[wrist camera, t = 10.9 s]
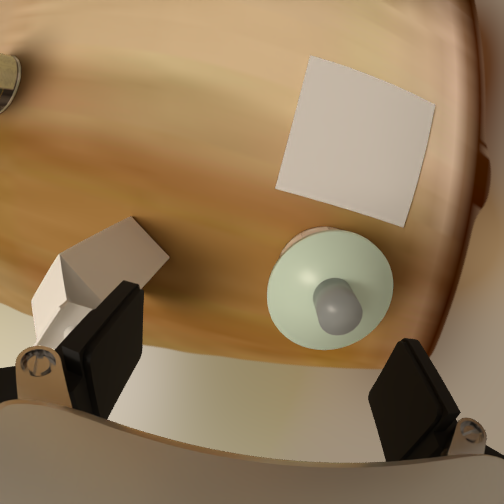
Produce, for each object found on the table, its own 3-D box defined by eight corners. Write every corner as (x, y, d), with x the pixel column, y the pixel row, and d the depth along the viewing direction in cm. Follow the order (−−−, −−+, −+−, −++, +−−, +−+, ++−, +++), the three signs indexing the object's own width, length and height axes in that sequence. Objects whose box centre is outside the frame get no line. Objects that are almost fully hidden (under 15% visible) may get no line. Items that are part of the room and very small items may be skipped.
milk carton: (101, 251, 37) (5, 320, 19) (131, 215, 35) (28, 270, 17) (137, 290, 38) (60, 380, 20) (171, 256, 37) (94, 343, 18)
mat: (309, 56, 28) (310, 55, 28) (433, 105, 29) (435, 104, 28) (275, 188, 33) (275, 188, 33) (401, 226, 34) (403, 227, 33)
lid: (287, 214, 28) (290, 226, 23) (407, 248, 28) (428, 265, 24) (253, 331, 32) (250, 359, 27) (362, 352, 32) (373, 379, 28)
